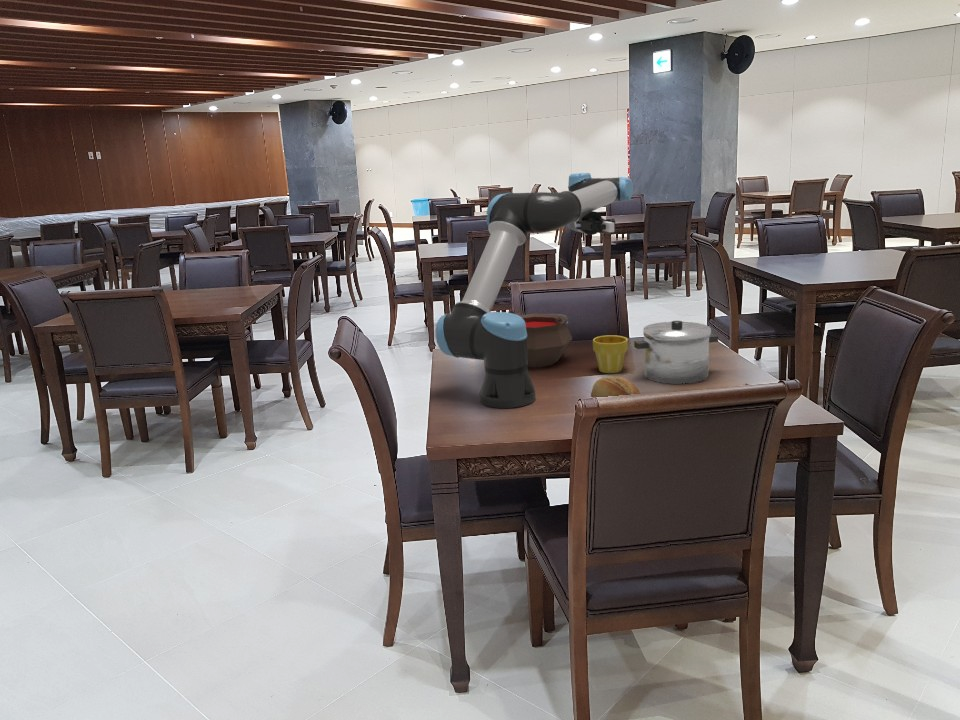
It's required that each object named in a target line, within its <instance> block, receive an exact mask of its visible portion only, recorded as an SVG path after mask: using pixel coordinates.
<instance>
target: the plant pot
mask: <svg viewBox="0 0 960 720" xmlns="http://www.w3.org/2000/svg"><path fill="white" fill-rule="evenodd" d="M628 349H629V339H628V337H626V336H622V335H615V334H614V335H613V334H612V335H609V334H607V335H600V336H596V337H594V338H593V339H592V350H593V352H594V353H595V358H596V362H597V366H598V370H599V372H601V373H603V374H618V373H620V372H621V371H622V370H623V365H624V360H625V355H626V352H627V351H628Z"/></svg>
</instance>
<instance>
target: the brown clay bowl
mask: <svg viewBox="0 0 960 720" xmlns="http://www.w3.org/2000/svg"><path fill="white" fill-rule="evenodd" d="M507 313H512V314H515V311H514V310H513V309H512V308H510V309H509V311H508V312H507ZM558 314H559V313H526V314H520V315H518V314H517V315H518V316H520V317H522V318H523V319H524V321H525V323H526V331H527V358H528V368H536V367H537V368H543V366H544V367H548V365H551V366H553V365H554V363H557V362H559V360H560V359H561V357H562V356H563V354H564V353H565V351H566V350H567V348H568V347H569V345H570V343H571V342H572V340H574V338H573V337H572V335H571V332H570V330H569V328H568V326H567V324H566V322H567V321H568V322H569V320H570V319H569V318H568V317H567V318H566V317H563V316H560V315H558Z"/></svg>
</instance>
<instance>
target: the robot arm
mask: <svg viewBox="0 0 960 720" xmlns="http://www.w3.org/2000/svg"><path fill="white" fill-rule="evenodd" d="M567 188H568V190H563V191H561V192H545V191H541V192H540V191H538V192H506V193H501V194H497V195H496V196H494V197H493V198H492V199H491V201H490V202H489V204H488V206H487V210H486V218H485V220H486V225H487V226H488V228H487V229H488V232H489V237H488V240H487V242H486V244H485V247H484V249H483V251H482V254H481V256H480V259H479V261H478V263H477V266H476V268H475V270H474V272H473V275H472V277H471V279H470V282H469V284H468V286H467V289H466V291H465V294H464V296H463V298H462V300H461V301H458V302H456V303H455V304H454V306H453V308H452V310H451V311H450V313H445V314H443V315H441V316H440V317H439V318H438V319H437V322H436V326H435V338H436V344H437V346H438V348H439V349H440V352H442V353H443V354H445V355H447V356H451V357H454V358H463V359H471V360H478V361H479V360H480V361H483V363H484V377H483V379H482V382H481V387H480V391H479V402H480V403H481V404H482V405H484V406H486V407H490V408H495V409H497V408H499V409H513V408H518V407H519V408H520V407H524V406H527V405H530V404H532V403H534V402H535V400H536V397H537V396H536V389H535V387H534V384H533V380H532V379H531V376H530V373H529V369H528V368H529V367H528V358H527V331H526V323H525V321H524V319H523V318H522V317H520V316H518V314H516V313H514V314H512V312H510V313H508V312H504V311H501V312H500V311H492V309H493V307H494V305H495V302H496V300H497V297H498V294H499V292H500V290H501V287H502V285H503V283H504V281H505V278H506V276H507V273H508V270H509V268H510V265H511V263H512V260H513V258H514V256H515V253H516V251H517V249H518V247H519V246H522V245H524V244H525V243H526V240H527V238H528V235H529V234H543V233H550V232H552V231H556V230H559V229H561V228H564V227H567V226H568V228H569V229H571V230H572V231H573V232H576V233H582V234H584V236H587V235H588V236H589V235H590V236H593V235H596V234H598V233H599V234H601V233H603V232H606V233H615V230H616V220H615V218H607V219H604V218H603V217H602V215H601V214H600V213H599V212H597V211H596V210H599V209H601V208H603V207H606V206H607V205H610V204H613V203H615V202H621V203H622V202H627V201H630V200H631V199H632V197H633V195H634V184H633V181H632V179H631V178H630V177H623V176H619V177H604V178H603V177H602V178H601V177H596V178H595V177H594V178H593V177H592V175H591V173H590V172H580V173H570V174H569V176H568V187H567Z"/></svg>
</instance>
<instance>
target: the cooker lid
mask: <svg viewBox="0 0 960 720" xmlns="http://www.w3.org/2000/svg"><path fill="white" fill-rule="evenodd" d="M642 330H643V337H644V336H645V337H647V338H649V339H653V340H658V341H667V342H688V341H697V340H702V339H706V338H708V337H710V336H711V334H712V328H711V326H709V325H708V324H707V325H706V324H704V323H699V322H693V321H682V320H672V321H663V322H655V323H650V324H648V325H646V326H644V327H643V329H642Z"/></svg>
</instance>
